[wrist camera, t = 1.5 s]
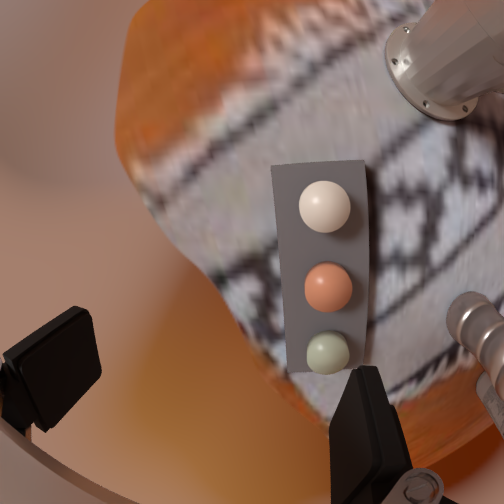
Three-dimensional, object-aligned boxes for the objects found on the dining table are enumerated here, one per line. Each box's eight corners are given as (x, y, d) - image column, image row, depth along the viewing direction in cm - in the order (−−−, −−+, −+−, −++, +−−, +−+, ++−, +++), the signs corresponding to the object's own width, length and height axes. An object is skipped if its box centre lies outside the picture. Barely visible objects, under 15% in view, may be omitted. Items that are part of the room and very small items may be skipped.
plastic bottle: (448, 284, 28) (550, 381, 9) (486, 287, 27) (582, 367, 8) (434, 332, 29) (508, 444, 10) (472, 331, 29) (547, 425, 9)
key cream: (344, 179, 24) (348, 179, 22) (347, 227, 25) (351, 231, 23) (296, 182, 25) (296, 182, 23) (300, 230, 26) (301, 234, 24)
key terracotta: (348, 259, 26) (352, 265, 24) (348, 301, 27) (351, 310, 25) (303, 262, 27) (303, 269, 25) (305, 304, 28) (305, 313, 26)
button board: (359, 161, 26) (364, 159, 24) (359, 358, 32) (362, 367, 30) (272, 166, 28) (270, 165, 26) (288, 362, 33) (287, 372, 31)
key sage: (347, 328, 28) (350, 338, 26) (345, 362, 29) (348, 372, 27) (306, 331, 29) (306, 341, 27) (306, 364, 30) (307, 375, 28)
